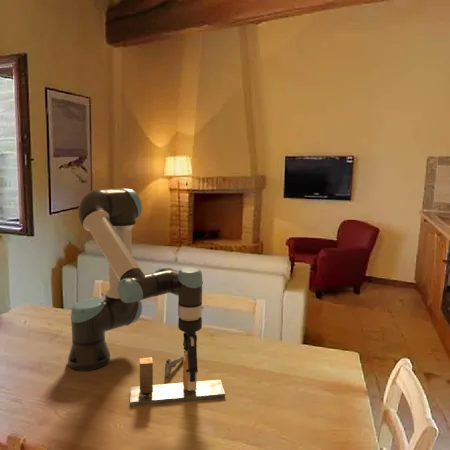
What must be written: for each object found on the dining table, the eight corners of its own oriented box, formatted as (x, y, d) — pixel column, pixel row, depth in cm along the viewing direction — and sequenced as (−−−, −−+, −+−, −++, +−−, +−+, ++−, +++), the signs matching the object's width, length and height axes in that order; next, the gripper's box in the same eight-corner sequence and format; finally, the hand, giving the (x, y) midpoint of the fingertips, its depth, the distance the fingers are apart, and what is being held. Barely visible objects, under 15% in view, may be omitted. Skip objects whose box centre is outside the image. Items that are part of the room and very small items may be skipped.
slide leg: (183, 385, 141) (183, 355, 139) (195, 384, 141) (195, 354, 140) (184, 391, 137) (184, 360, 135) (196, 390, 137) (196, 359, 136)
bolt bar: (131, 391, 140) (130, 355, 138) (220, 383, 146) (220, 349, 144) (130, 406, 131) (129, 368, 129) (225, 398, 137) (225, 361, 135)
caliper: (167, 378, 149) (167, 362, 148) (164, 378, 149) (164, 361, 148) (191, 354, 168) (191, 339, 167) (188, 353, 168) (188, 339, 167)
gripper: (207, 331, 124) (206, 398, 127) (197, 303, 148) (196, 360, 151) (181, 332, 123) (181, 401, 126) (175, 304, 147) (175, 362, 150)
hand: (189, 379), depth 139 cm, fingers open, 13 cm apart
